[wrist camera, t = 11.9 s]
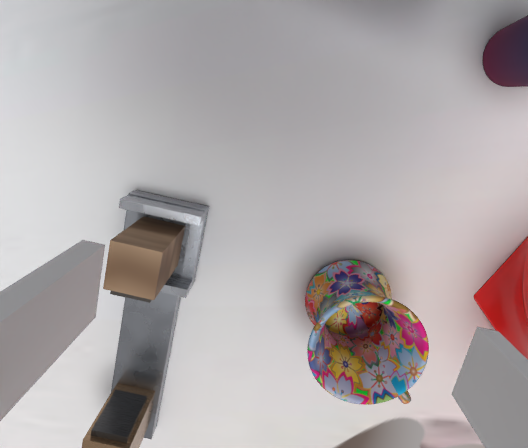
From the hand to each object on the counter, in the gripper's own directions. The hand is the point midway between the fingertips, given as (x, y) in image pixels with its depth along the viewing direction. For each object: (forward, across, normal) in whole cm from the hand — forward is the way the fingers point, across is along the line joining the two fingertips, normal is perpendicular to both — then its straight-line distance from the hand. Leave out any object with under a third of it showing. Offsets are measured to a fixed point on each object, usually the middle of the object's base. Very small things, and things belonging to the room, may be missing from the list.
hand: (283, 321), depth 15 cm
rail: (+27, -10, -16) cm, 33 cm away
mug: (+27, +10, -10) cm, 30 cm away
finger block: (+25, -10, -7) cm, 28 cm away
